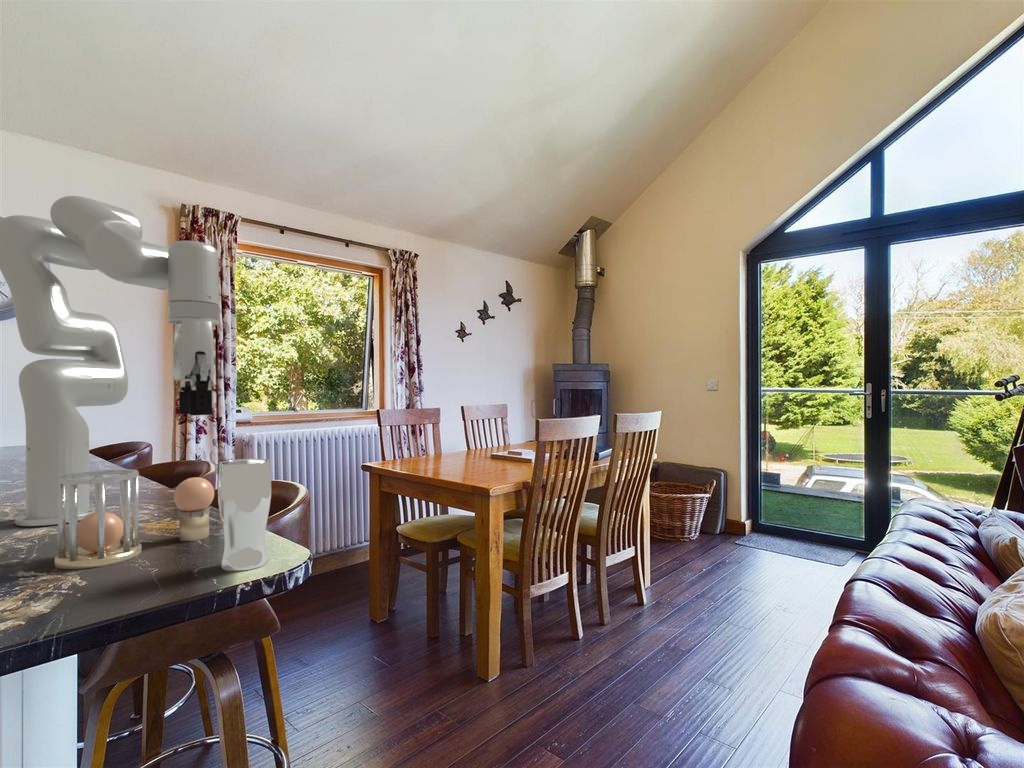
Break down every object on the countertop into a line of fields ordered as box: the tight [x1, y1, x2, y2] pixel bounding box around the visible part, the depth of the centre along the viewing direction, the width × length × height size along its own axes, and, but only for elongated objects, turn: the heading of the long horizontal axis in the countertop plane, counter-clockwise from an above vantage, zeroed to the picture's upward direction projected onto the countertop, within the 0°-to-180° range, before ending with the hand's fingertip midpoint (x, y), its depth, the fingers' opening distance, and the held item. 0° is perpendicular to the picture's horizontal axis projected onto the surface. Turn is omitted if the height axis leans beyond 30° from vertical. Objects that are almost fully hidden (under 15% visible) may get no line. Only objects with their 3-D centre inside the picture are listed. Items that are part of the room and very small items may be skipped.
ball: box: [78, 510, 123, 552], centre depth 81 cm, size 6×6×6 cm
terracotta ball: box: [173, 476, 215, 512], centre depth 91 cm, size 6×6×6 cm
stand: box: [178, 506, 211, 542], centre depth 91 cm, size 4×4×5 cm
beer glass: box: [217, 458, 272, 572], centre depth 77 cm, size 7×7×15 cm
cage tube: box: [54, 468, 142, 570], centre depth 81 cm, size 10×10×13 cm
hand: (195, 414), depth 91 cm, fingers open, 9 cm apart
